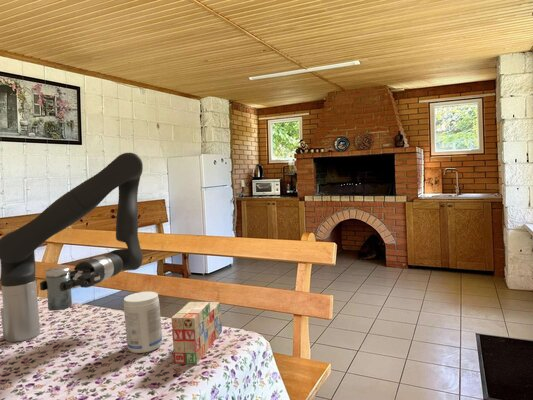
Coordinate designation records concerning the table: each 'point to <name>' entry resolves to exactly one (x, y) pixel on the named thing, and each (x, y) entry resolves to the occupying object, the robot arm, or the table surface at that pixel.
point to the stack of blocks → (195, 330)
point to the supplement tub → (142, 322)
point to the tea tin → (58, 288)
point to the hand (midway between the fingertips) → (51, 286)
